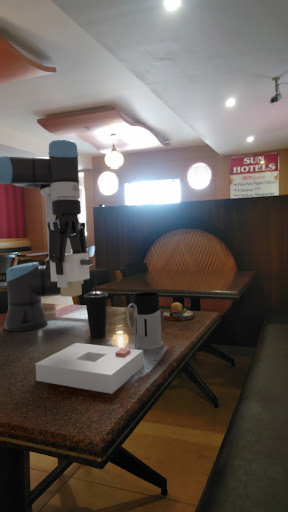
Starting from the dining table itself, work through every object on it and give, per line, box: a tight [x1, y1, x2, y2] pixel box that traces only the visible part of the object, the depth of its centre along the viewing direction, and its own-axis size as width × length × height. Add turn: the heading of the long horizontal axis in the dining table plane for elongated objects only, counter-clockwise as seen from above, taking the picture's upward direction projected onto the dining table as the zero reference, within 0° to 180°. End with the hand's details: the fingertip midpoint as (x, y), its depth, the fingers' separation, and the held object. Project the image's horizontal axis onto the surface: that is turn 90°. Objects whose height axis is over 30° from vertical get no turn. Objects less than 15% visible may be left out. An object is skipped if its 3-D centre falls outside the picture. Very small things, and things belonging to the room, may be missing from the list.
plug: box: [50, 252, 93, 298], centre depth 95 cm, size 11×6×11 cm, turn 65°
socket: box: [34, 342, 145, 395], centre depth 84 cm, size 20×16×5 cm
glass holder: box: [125, 291, 164, 350], centre depth 102 cm, size 9×14×15 cm, turn 147°
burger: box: [162, 300, 194, 322], centre depth 136 cm, size 12×12×8 cm
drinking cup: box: [83, 274, 109, 339], centre depth 115 cm, size 8×8×20 cm
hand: (70, 285), depth 96 cm, fingers closed on plug, 6 cm apart
